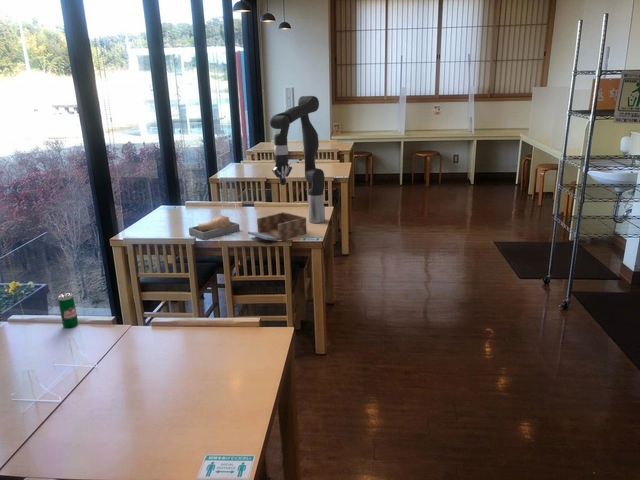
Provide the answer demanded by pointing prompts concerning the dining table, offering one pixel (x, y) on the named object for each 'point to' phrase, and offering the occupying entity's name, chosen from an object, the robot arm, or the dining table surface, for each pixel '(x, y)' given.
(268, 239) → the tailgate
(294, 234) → the box
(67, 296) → the soda can
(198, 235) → the squash crate
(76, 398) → the dining table surface
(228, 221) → the squash
